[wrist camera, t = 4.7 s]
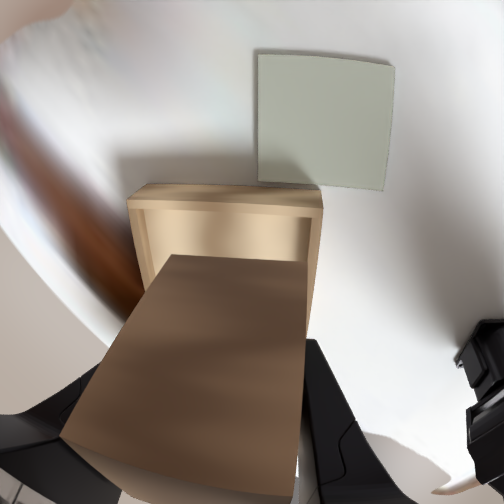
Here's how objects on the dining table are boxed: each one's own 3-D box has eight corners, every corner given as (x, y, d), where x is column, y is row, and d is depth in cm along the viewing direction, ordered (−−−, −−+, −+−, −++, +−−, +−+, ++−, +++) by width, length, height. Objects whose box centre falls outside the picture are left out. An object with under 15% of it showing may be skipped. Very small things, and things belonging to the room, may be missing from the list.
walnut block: (308, 262, 10) (293, 496, 4) (299, 356, 12) (280, 528, 6) (171, 254, 10) (59, 435, 4) (190, 345, 13) (132, 497, 7)
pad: (393, 67, 15) (394, 66, 14) (381, 189, 19) (383, 191, 18) (259, 54, 16) (258, 54, 15) (258, 179, 20) (257, 181, 19)
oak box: (320, 190, 20) (323, 208, 17) (305, 319, 25) (305, 345, 23) (146, 184, 21) (126, 200, 19) (167, 304, 27) (154, 327, 24)
